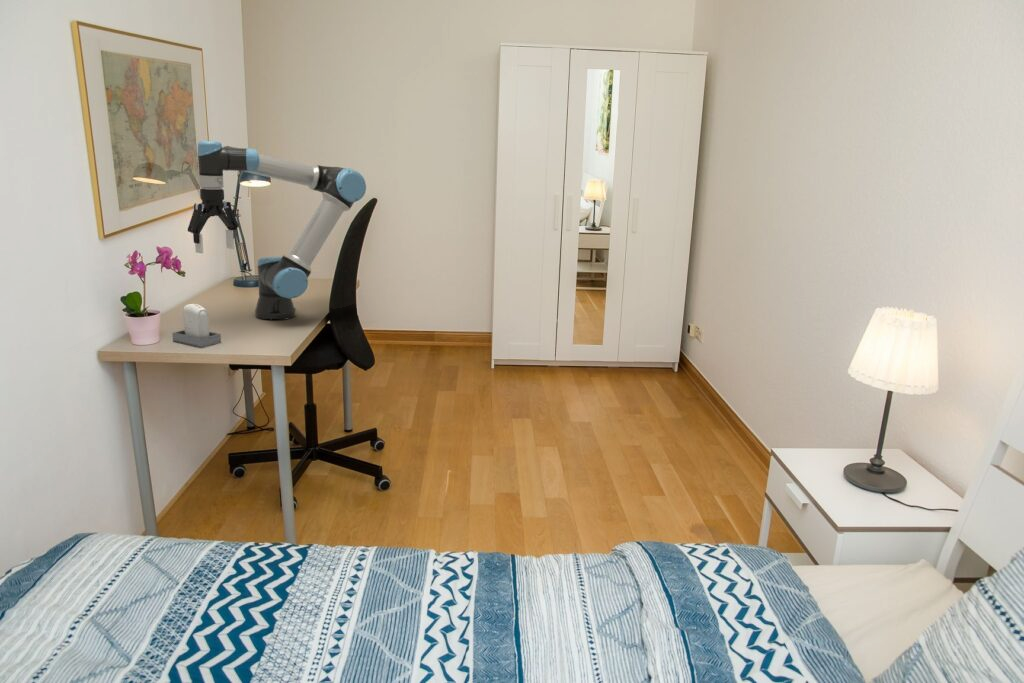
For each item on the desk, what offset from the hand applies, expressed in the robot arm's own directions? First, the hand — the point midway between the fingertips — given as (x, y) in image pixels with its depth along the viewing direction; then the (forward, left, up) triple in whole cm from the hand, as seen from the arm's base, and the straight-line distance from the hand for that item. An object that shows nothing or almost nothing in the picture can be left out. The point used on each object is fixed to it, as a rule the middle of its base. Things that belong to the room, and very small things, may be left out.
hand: (215, 250), depth 254 cm
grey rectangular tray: (+14, +5, -29) cm, 33 cm away
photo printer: (+14, +5, -28) cm, 32 cm away
